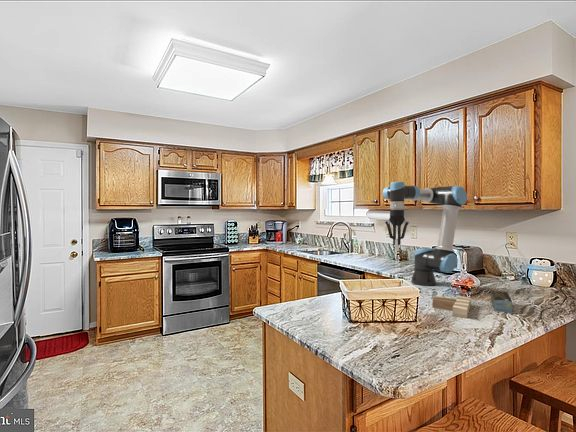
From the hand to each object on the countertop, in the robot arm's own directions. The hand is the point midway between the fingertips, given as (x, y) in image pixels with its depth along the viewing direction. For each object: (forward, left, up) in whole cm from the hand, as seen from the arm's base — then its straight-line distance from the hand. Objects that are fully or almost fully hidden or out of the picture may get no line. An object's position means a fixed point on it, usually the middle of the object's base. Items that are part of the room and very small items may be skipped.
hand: (396, 250), depth 190 cm
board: (+8, +34, -26) cm, 44 cm away
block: (+8, +26, -26) cm, 38 cm away
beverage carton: (-9, +51, -26) cm, 58 cm away
